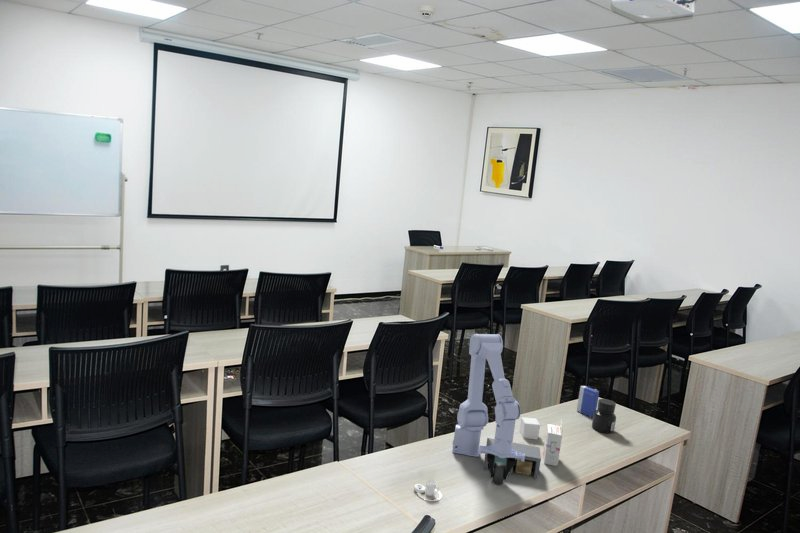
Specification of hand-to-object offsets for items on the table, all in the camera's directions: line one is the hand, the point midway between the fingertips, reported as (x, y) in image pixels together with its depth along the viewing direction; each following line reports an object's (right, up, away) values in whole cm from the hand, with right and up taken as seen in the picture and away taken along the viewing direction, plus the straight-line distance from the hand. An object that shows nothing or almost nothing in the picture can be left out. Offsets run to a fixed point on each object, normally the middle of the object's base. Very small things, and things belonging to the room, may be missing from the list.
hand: (498, 477), depth 189 cm
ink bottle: (+53, 0, +54) cm, 76 cm away
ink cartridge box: (+22, -1, +20) cm, 30 cm away
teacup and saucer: (-23, -1, -9) cm, 25 cm away
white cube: (+19, +2, +40) cm, 44 cm away
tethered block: (+1, -1, +6) cm, 6 cm away
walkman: (+50, +3, +70) cm, 86 cm away
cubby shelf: (+6, -1, +11) cm, 13 cm away
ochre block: (+10, -1, +11) cm, 15 cm away
